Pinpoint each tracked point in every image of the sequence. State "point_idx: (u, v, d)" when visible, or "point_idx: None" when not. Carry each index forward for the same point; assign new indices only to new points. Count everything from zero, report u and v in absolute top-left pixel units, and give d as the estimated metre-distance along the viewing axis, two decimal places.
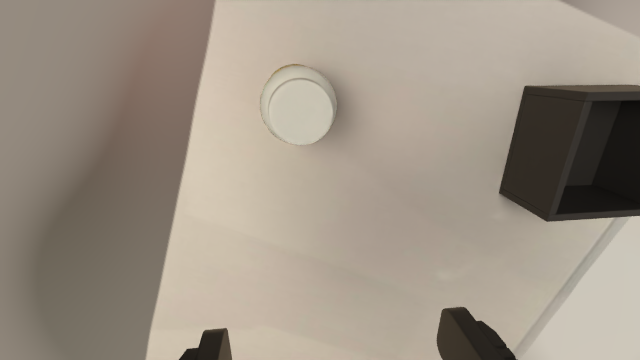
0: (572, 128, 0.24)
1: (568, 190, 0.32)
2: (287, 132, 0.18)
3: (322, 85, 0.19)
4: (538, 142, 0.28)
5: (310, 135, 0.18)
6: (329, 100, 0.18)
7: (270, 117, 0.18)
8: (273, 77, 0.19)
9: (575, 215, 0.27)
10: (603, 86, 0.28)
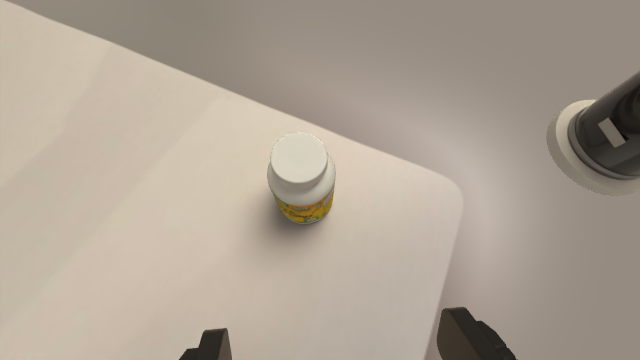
0: None
1: None
2: (284, 143, 0.21)
3: (317, 189, 0.22)
4: None
5: (278, 161, 0.20)
6: (306, 180, 0.20)
7: (299, 132, 0.21)
8: None
9: None
10: None
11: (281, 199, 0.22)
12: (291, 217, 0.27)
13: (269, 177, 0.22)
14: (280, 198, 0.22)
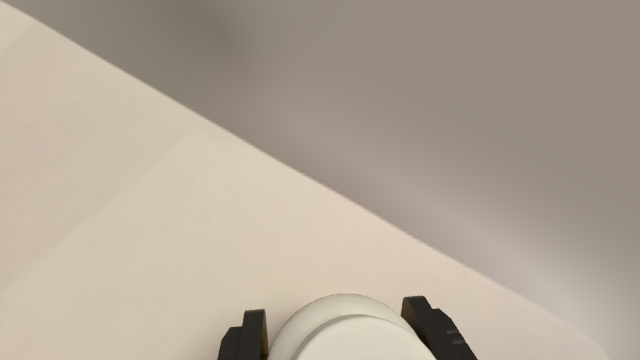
0: None
1: None
2: (328, 359, 0.07)
3: None
4: None
5: None
6: None
7: (373, 322, 0.07)
8: None
9: None
10: None
11: None
12: None
13: None
14: None
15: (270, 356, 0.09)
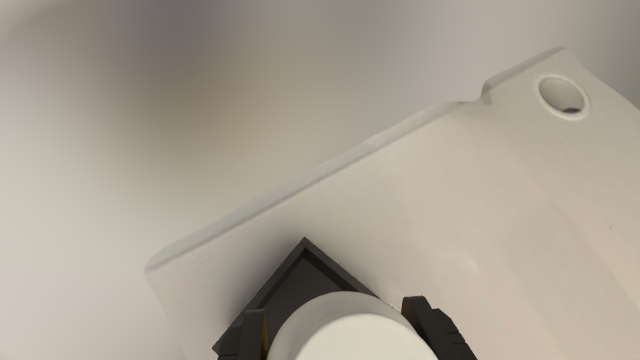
0: None
1: (334, 280, 0.30)
2: (328, 355, 0.07)
3: None
4: None
5: None
6: None
7: (373, 318, 0.07)
8: None
9: None
10: None
11: None
12: None
13: None
14: None
15: (270, 353, 0.09)
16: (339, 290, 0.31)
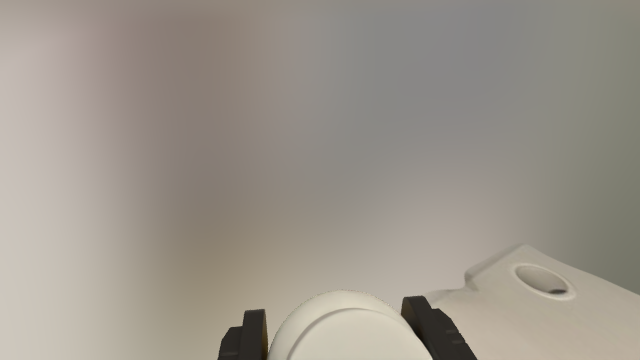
0: None
1: None
2: (325, 348, 0.07)
3: None
4: None
5: None
6: None
7: (367, 314, 0.08)
8: None
9: None
10: None
11: None
12: None
13: None
14: None
15: (272, 348, 0.09)
16: None
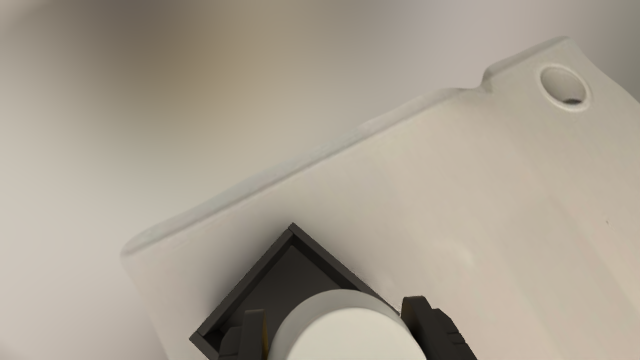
0: None
1: (323, 269, 0.29)
2: (322, 344, 0.08)
3: None
4: None
5: None
6: None
7: (362, 312, 0.08)
8: (410, 333, 0.10)
9: None
10: None
11: None
12: None
13: None
14: None
15: (273, 344, 0.10)
16: (328, 280, 0.30)
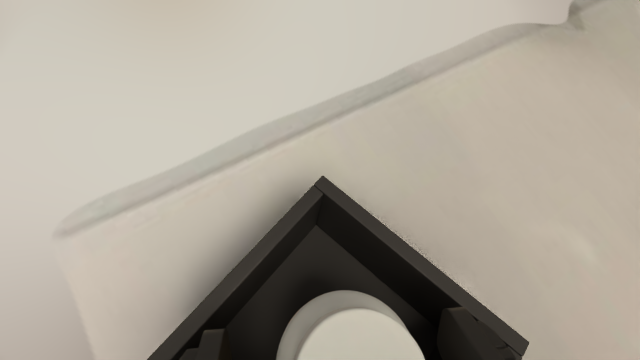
0: None
1: (367, 263, 0.18)
2: (330, 341, 0.09)
3: None
4: None
5: None
6: None
7: (366, 312, 0.09)
8: (407, 331, 0.11)
9: (469, 307, 0.13)
10: None
11: None
12: None
13: None
14: None
15: (282, 340, 0.11)
16: (375, 280, 0.19)
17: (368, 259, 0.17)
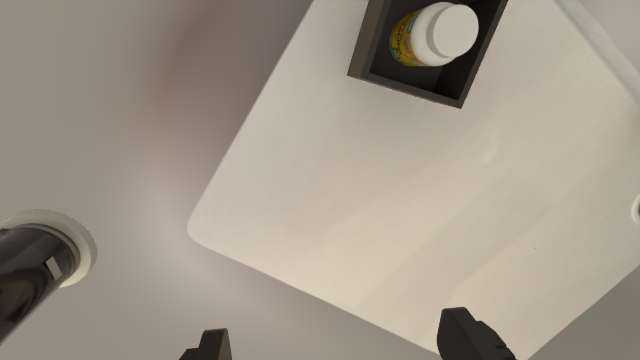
0: (386, 86, 0.29)
1: None
2: (466, 14, 0.24)
3: (428, 55, 0.27)
4: None
5: (449, 14, 0.24)
6: (437, 46, 0.25)
7: (477, 24, 0.25)
8: None
9: (468, 81, 0.30)
10: (369, 9, 0.31)
11: (413, 26, 0.27)
12: (394, 35, 0.31)
13: (431, 7, 0.26)
14: (414, 25, 0.27)
15: (443, 2, 0.26)
16: None
17: None
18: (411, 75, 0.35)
